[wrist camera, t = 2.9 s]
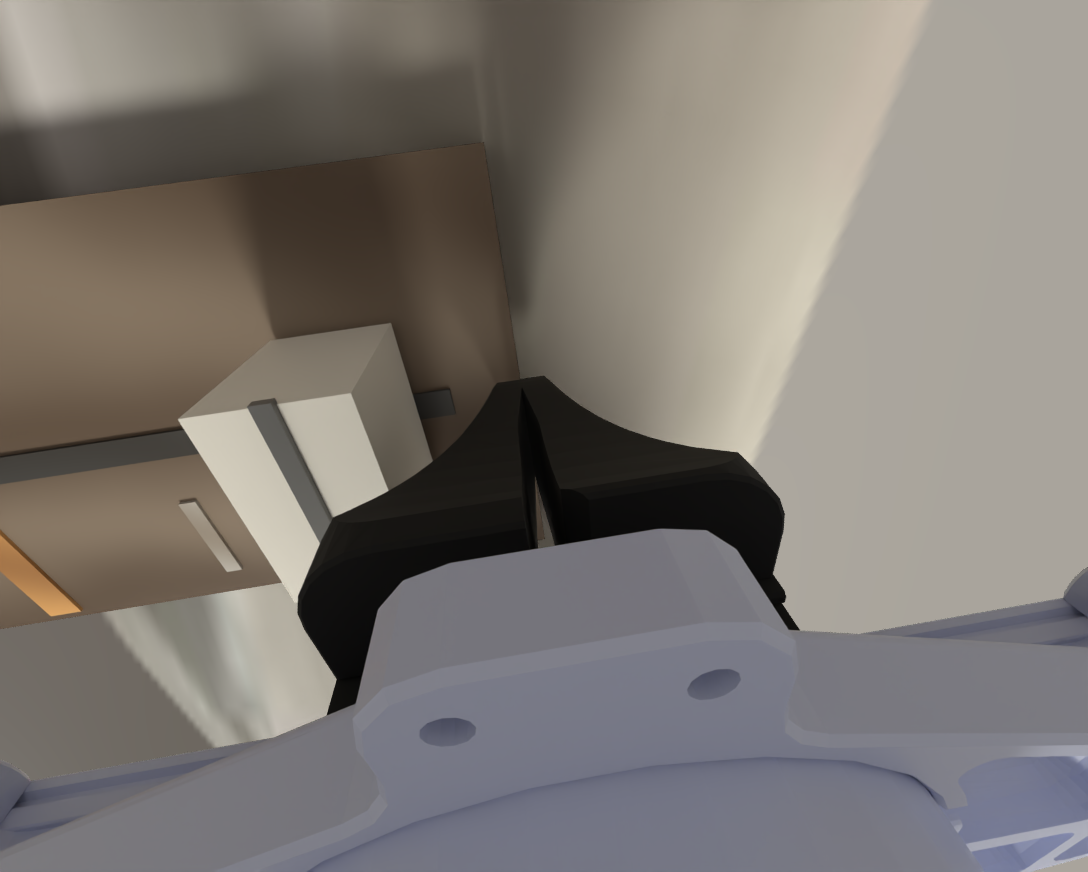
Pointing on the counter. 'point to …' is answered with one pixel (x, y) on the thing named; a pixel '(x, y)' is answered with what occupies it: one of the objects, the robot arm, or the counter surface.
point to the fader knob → (309, 437)
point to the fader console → (214, 353)
